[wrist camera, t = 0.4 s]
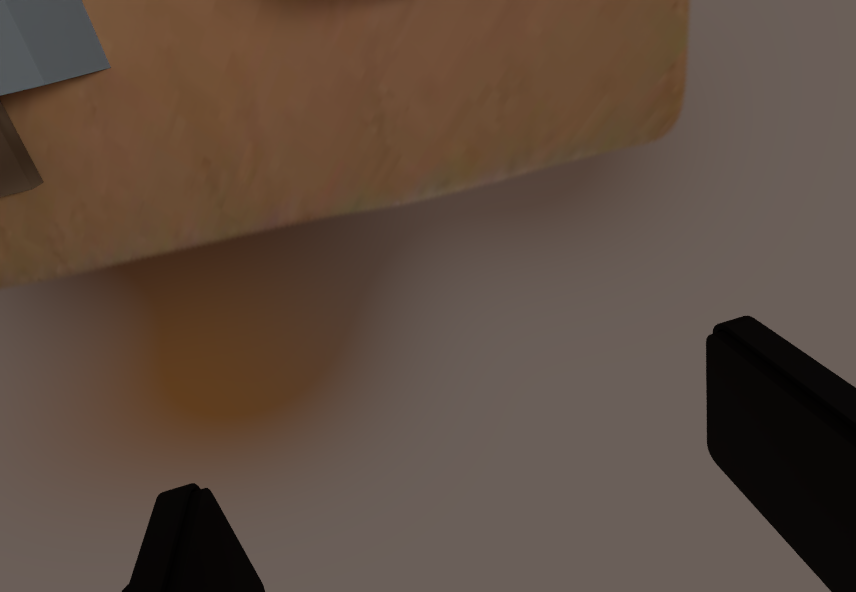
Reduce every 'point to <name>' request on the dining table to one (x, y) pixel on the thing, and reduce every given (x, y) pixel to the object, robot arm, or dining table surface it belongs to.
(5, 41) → the blue-grey rectangular block
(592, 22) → the dining table surface
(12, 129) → the wooden peg rack
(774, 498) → the robot arm
